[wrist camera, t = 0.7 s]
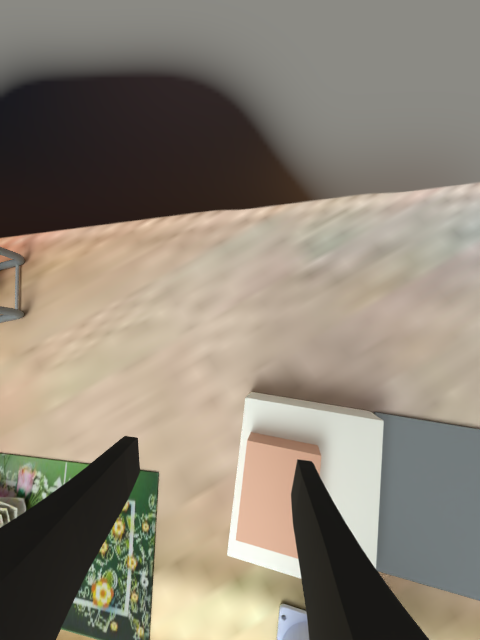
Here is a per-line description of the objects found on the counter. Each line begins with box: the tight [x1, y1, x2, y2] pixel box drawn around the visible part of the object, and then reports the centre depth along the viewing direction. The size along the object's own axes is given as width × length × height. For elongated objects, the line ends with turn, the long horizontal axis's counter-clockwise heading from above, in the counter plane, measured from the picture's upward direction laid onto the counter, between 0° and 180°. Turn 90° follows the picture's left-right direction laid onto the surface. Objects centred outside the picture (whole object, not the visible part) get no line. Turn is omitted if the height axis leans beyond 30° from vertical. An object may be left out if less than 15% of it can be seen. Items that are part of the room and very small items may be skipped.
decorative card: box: [0, 453, 159, 640], centre depth 29 cm, size 33×8×20 cm
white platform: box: [227, 392, 384, 578], centre depth 26 cm, size 16×14×4 cm
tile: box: [236, 432, 321, 559], centre depth 23 cm, size 9×7×2 cm
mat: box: [374, 412, 480, 601], centre depth 25 cm, size 16×12×1 cm
